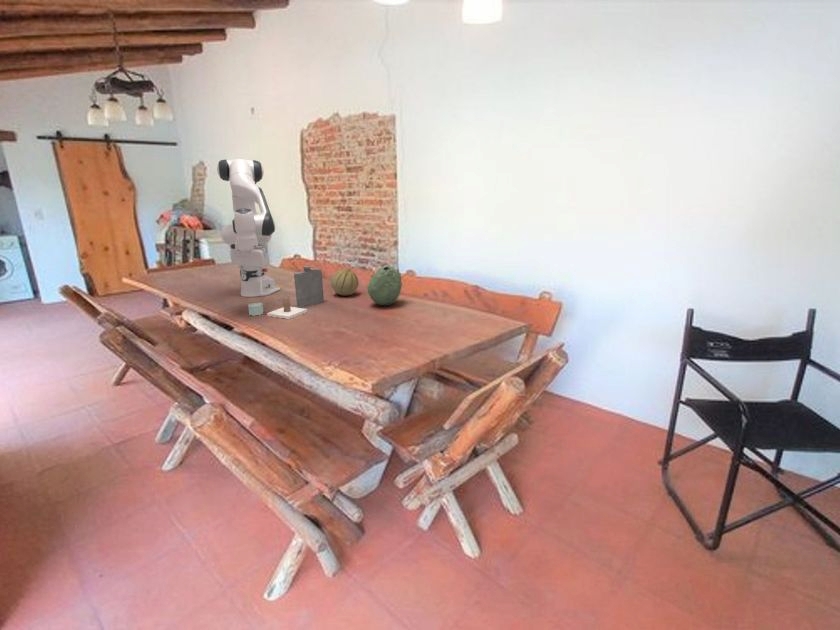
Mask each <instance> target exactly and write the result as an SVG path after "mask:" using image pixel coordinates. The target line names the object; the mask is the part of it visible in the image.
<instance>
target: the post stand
mask: <svg viewBox="0 0 840 630" xmlns="http://www.w3.org/2000/svg"><path fill="white" fill-rule="evenodd" d="M282 305H283V306H282V307H280V308H277V309H275V310H272V311H270V312H267V313H266V314H267V317H270V316H273V317H272V318H276V317H279V318H278V319H282V318H286V319H285V320H288V319H289V320H291V319H290V318H292V319H294V318H296V316H297V317H299V316H301V315H303V313H304V314H305V313H308V309H307V308H297V306H291V299H290V295H289V296H288V295H284V296H282ZM298 315H299V316H298ZM293 317H294V318H293Z"/></svg>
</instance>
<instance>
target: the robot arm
mask: <svg viewBox="0 0 840 630" xmlns="http://www.w3.org/2000/svg"><path fill="white" fill-rule="evenodd" d="M216 171H217V174H218V177H219V178H220V179H221V180H222V181H225V182H229V185H230V188H231V197H232V198H231V199H232V210H233V213H234V218H233V220H232V221H231V224H226V225H224V226H222V228H221V231H220V236H221V240H222V241H223V242H224V243H225V244H227V245H228V247H229V249H230V251H229V253H230V261H231V263H232V265H238V266H237V267H238V269H239V277H240V278H241V279H240V280H241V281H240V284H241V289H240V296H242V297H246V298H247V297H248V298H255V297H263V296H264V297H265V296H269V295H271V294H273V293H276V292H278V291H280V290H281V288H280V287H278V286H276V282H275V280H274V279H273V278H272V277H270V276H268V275H266V273H267V272H268V270H269V269H268V268H265V267H268V266H269V265H270V264H269V263H270V261H269V258H268V254H267V250H266V248H264V247H263V246H262V245H261V246H259V245H260V244H265V243H269V242H270V241H271V239H272V235H273V234H274V232H275V231H276V223H275V220H274V218H273V216H272V213H271V211H270V208H269V204H268V201H267V199H266V196H265V194H264V191H263V190H262V188H261V187H259V186H258V185H257V183H259V182H261V180H262V179H263V177H264V167H263V165H262V163H261V162H260V161H259V160H255V159H253V160H250V159H244V158H235V159H220V160H219V162H218V164H217V167H216ZM256 204H257V205H258V207H259V210H260V213H261V214H258V213H257V208H256ZM265 272H266V273H265Z"/></svg>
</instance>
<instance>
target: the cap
mask: <svg viewBox="0 0 840 630" xmlns="http://www.w3.org/2000/svg"><path fill="white" fill-rule="evenodd" d="M247 306H248V307H247V308H248V309H247V310H248V315H249V316H250V315H252V316H251V317H256V316H255V315H259V316H262V315H264V314H263V312H264V306H263V303H262V302H252V303H249V304H247ZM261 314H262V315H261Z"/></svg>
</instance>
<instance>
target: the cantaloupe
mask: <svg viewBox="0 0 840 630" xmlns="http://www.w3.org/2000/svg"><path fill="white" fill-rule="evenodd" d="M330 283H331V288H332V289H333V291H334V292H335V293H336V294H337V295H339V296H344V297H345V296H346V297H347V296H351V295H353V294H354V293H355V292H356V291H357V290H358V287H359V278H358V276H357V274H356V273H355V272H354V271H352V270H351V268H347V269H346V268H341V269H339V270H337V271H336V272H335V273H334V274H333V275H332V277H331V282H330Z"/></svg>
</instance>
